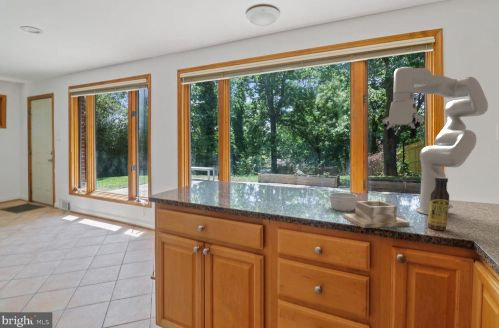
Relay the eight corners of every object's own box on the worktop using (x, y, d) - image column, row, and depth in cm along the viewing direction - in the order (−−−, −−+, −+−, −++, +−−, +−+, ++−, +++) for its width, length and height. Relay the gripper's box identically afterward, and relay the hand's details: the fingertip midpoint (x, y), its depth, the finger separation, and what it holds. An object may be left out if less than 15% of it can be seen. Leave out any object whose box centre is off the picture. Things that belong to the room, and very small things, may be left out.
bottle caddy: (384, 215, 129) (385, 199, 129) (409, 225, 114) (410, 207, 113) (343, 217, 126) (343, 200, 126) (363, 228, 111) (364, 209, 110)
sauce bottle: (429, 229, 108) (432, 178, 107) (425, 225, 114) (428, 176, 113) (449, 231, 106) (452, 178, 104) (445, 227, 112) (447, 176, 110)
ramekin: (359, 212, 136) (359, 198, 135) (330, 211, 138) (330, 196, 138) (354, 206, 148) (355, 193, 148) (328, 205, 151) (328, 192, 151)
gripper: (429, 96, 115) (427, 138, 117) (388, 101, 130) (387, 138, 131) (419, 94, 111) (417, 138, 113) (378, 99, 126) (377, 138, 127)
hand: (401, 138), depth 122 cm, fingers open, 9 cm apart
